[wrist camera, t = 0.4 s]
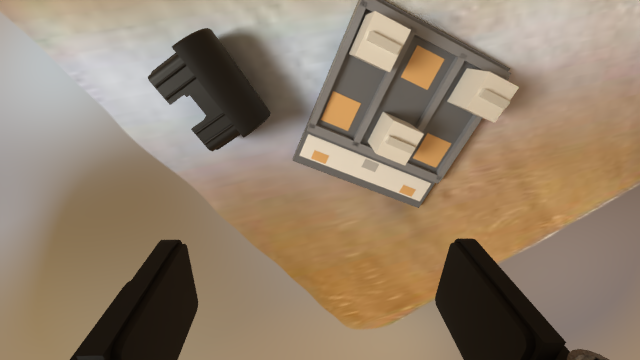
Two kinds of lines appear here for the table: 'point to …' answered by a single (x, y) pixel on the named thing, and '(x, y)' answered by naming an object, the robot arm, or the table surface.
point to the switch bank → (393, 108)
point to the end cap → (211, 88)
